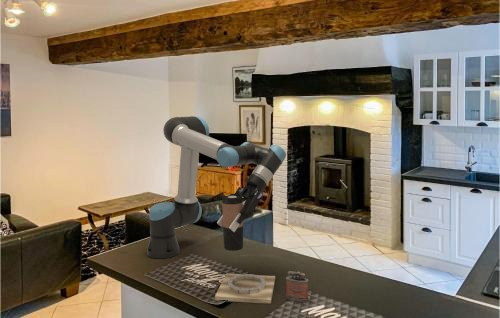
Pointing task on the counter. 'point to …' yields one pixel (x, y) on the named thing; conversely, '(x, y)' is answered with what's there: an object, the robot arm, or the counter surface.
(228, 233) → the travel mug
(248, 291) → the dock collar
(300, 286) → the lighter
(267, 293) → the dock board
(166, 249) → the robot arm
